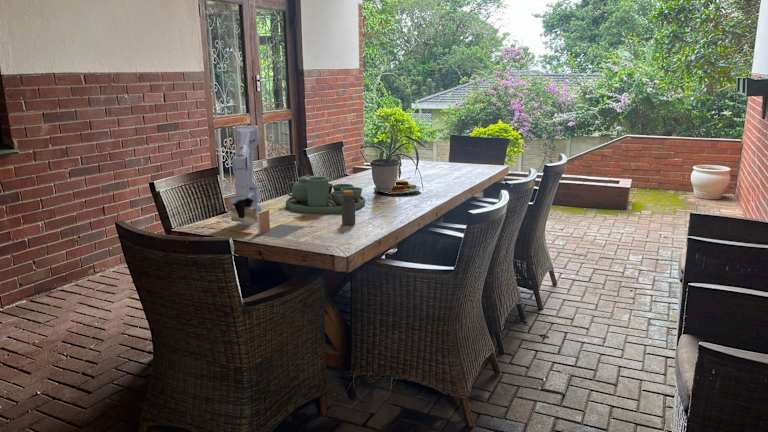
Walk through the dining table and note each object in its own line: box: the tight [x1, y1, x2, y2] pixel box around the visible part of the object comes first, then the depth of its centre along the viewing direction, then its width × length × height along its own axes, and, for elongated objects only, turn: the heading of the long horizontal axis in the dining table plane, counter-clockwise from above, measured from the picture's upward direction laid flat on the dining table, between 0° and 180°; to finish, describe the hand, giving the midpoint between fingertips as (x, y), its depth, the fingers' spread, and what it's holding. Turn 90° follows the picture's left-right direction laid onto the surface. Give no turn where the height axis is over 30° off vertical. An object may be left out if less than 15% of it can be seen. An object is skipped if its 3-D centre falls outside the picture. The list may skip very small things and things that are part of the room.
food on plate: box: [382, 179, 422, 196], centre depth 341 cm, size 25×25×7 cm
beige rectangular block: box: [230, 205, 257, 223], centre depth 254 cm, size 3×11×6 cm, turn 67°
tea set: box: [284, 173, 366, 215], centre depth 306 cm, size 40×40×16 cm
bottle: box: [341, 190, 356, 227], centre depth 266 cm, size 6×6×15 cm
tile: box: [256, 209, 271, 234], centre depth 251 cm, size 7×1×9 cm, turn 157°
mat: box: [254, 223, 306, 239], centre depth 254 cm, size 20×13×1 cm, turn 157°
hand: (243, 216), depth 254 cm, fingers closed on beige rectangular block, 3 cm apart
